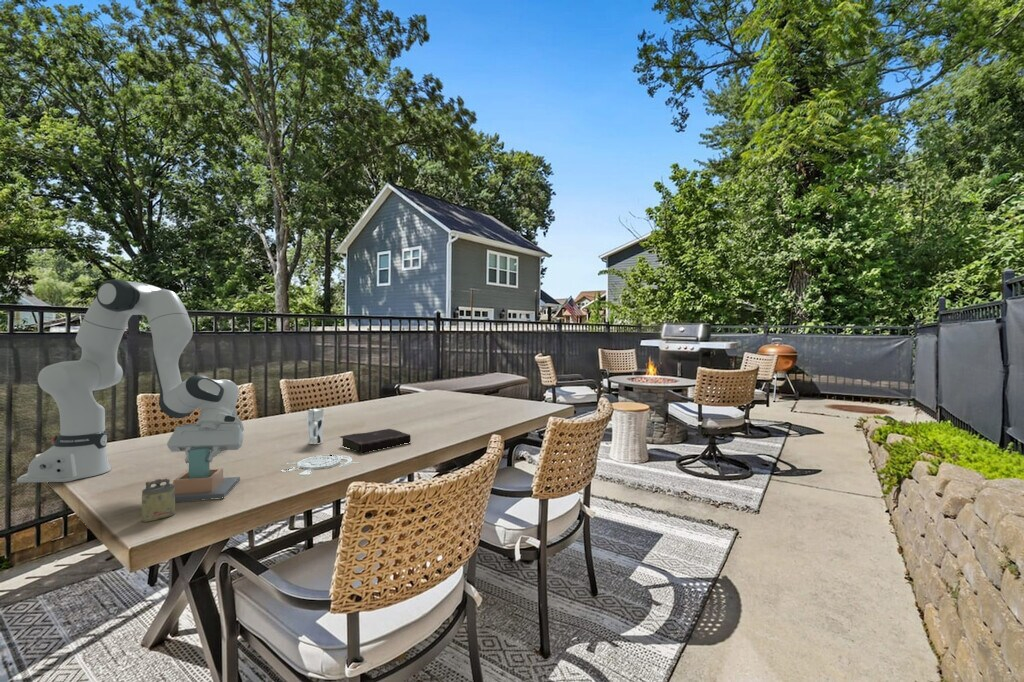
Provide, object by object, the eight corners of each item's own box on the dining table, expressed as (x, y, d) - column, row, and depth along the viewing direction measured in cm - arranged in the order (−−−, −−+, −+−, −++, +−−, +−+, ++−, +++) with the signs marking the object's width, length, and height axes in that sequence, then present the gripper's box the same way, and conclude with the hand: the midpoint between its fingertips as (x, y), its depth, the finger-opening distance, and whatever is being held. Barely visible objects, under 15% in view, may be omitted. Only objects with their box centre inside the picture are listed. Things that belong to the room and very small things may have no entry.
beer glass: (317, 445, 195) (317, 411, 195) (303, 444, 197) (303, 410, 196) (326, 441, 202) (327, 409, 202) (313, 440, 203) (313, 408, 203)
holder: (152, 504, 127) (152, 485, 127) (176, 485, 142) (176, 468, 142) (223, 498, 132) (224, 480, 132) (239, 481, 147) (240, 464, 147)
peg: (188, 484, 135) (188, 452, 135) (195, 480, 139) (195, 448, 138) (203, 484, 136) (203, 451, 135) (209, 479, 139) (209, 448, 139)
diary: (410, 445, 202) (411, 434, 202) (361, 456, 183) (361, 444, 183) (386, 437, 214) (387, 427, 214) (338, 447, 195) (338, 435, 195)
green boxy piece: (173, 511, 122) (173, 475, 122) (177, 515, 120) (177, 478, 119) (139, 519, 117) (140, 482, 116) (143, 523, 114) (143, 485, 114)
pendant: (367, 462, 173) (367, 459, 173) (294, 479, 152) (294, 475, 152) (339, 452, 187) (339, 449, 187) (268, 467, 165) (268, 463, 165)
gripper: (173, 418, 141) (155, 457, 132) (244, 417, 146) (231, 455, 136) (180, 429, 146) (163, 468, 136) (249, 428, 150) (237, 465, 141)
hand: (198, 461), depth 136 cm, fingers closed on peg, 4 cm apart
